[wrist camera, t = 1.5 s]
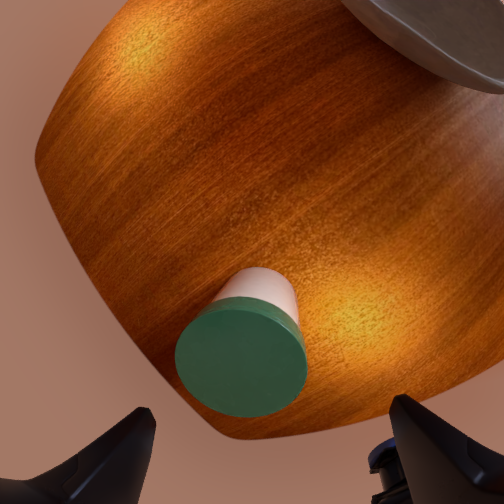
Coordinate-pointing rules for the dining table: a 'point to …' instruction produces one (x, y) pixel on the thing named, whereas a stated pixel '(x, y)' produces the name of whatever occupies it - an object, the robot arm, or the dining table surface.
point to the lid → (242, 357)
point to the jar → (262, 289)
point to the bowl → (442, 36)
